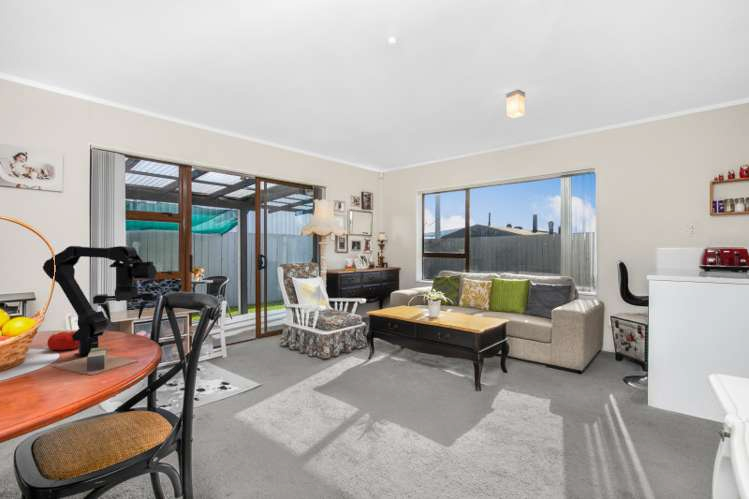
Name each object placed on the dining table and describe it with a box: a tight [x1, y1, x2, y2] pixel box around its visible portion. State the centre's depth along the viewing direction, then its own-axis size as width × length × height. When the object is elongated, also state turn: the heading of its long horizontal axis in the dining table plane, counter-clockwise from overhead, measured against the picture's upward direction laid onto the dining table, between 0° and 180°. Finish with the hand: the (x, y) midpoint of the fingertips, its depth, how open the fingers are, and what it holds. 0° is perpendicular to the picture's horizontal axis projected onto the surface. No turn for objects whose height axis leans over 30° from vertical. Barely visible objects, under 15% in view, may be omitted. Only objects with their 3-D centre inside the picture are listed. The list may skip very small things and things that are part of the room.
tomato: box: [46, 331, 79, 351], centre depth 144 cm, size 10×11×6 cm
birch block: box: [87, 346, 108, 371], centre depth 124 cm, size 4×4×12 cm
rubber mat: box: [52, 354, 139, 377], centre depth 126 cm, size 21×15×1 cm
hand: (124, 320), depth 137 cm, fingers open, 9 cm apart
